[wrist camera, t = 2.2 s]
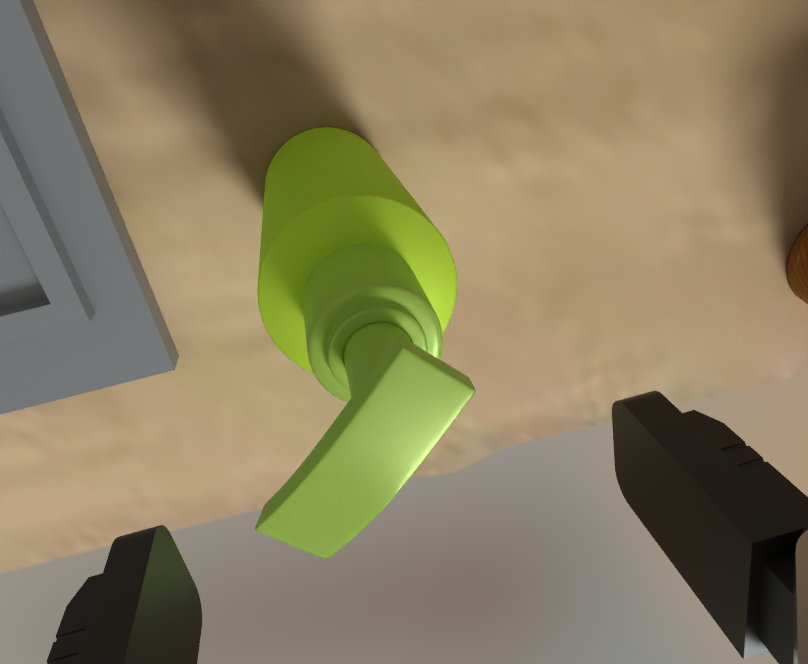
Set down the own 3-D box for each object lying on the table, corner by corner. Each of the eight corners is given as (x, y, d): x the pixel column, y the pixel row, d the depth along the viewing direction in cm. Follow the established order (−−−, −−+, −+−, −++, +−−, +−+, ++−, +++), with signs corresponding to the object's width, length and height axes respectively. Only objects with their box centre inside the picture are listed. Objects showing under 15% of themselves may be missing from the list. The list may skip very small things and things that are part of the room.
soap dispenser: (229, 225, 30) (162, 511, 13) (310, 99, 29) (366, 224, 11) (332, 288, 33) (399, 606, 15) (413, 175, 31) (600, 382, 13)
